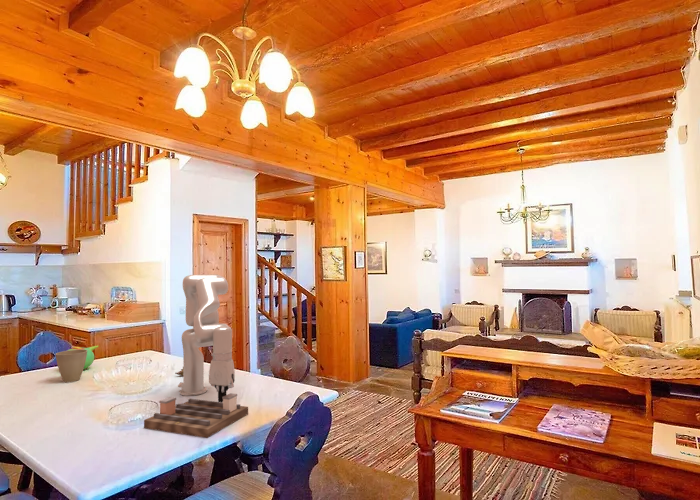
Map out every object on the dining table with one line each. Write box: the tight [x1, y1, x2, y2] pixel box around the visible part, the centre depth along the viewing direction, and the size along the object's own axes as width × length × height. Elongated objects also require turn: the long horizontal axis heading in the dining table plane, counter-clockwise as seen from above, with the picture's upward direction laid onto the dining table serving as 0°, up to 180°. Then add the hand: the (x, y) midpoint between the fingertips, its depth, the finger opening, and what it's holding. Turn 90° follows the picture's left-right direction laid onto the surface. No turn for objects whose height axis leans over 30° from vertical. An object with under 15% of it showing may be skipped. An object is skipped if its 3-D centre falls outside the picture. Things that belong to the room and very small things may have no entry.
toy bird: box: [66, 345, 99, 370], centre depth 258 cm, size 18×17×15 cm
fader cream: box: [222, 392, 238, 412], centre depth 170 cm, size 3×5×6 cm, turn 160°
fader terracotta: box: [158, 396, 177, 415], centre depth 166 cm, size 3×5×6 cm, turn 160°
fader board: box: [143, 398, 249, 439], centre depth 168 cm, size 30×26×5 cm
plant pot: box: [55, 349, 87, 383], centre depth 233 cm, size 15×15×16 cm
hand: (222, 401), depth 172 cm, fingers closed
